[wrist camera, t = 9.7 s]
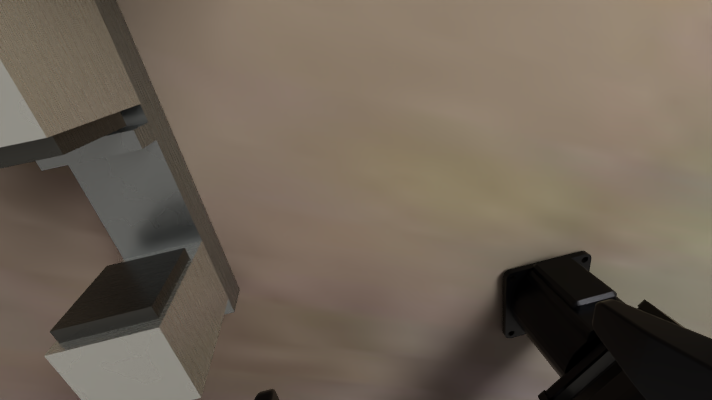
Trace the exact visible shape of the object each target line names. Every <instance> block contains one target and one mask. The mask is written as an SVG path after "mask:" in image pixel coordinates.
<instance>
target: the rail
mask: <svg viewBox="0 0 712 400" xmlns="http://www.w3.org/2000/svg"><path fill="white" fill-rule="evenodd" d="M94 1H95V3H96V5H97V7H98V10H99V12H100V14H101V16H102V18H103V21H104V23H105V25H106V27H107V30H108V32H109V34H110V36H111V38H112V41H113V43H114V45H115V47H116V50H117V52H118V54H119V56H120V58H121V61H122V63H123V65H124V67H125V70H126V72H127V74H128V76H129V78H130V81H131V83H132V85H133V87H134V90H135V92H136V94H137V96H138V98H139V101H140V103H141V104H139V105H136V106H133V107H131V108H128V109H125V110H122V111H120V113H121V115H122V117H123V119H124V121H125V123H126V125H127V126H125V127H123V128H121V129H119V130H117V131H114V132H112V133H110V134H108V135H106V136H104V137H101V138H99V139H97V140H95V141H93V142H91V143H88V144H86V145H84V146H82V147H80V148H78V149H75V150H73V151H71V152H69V153H67V154H64V155H61V156H56V157H52V158H47V159H42V160H37V161H36V163H37V164H38V166H39V167H40V169H41V171H43V170H47V169H52V168H57V167H61V166H66V165H68V166H69V167H70V169H71V171H72V172H73V174H74V176H75V178H76V179H77V181H78V183H79V184H80V186H81V188H82V189H83V191H84V193H85V194H86V196H87V198H88V200H89V201H90V203H91V205H92V206H93V208H94V210H95V211H96V213H97V215H98V216H99V218H100V220H101V222H102V223H103V225H104V227H105V228H106V230H107V232H108V233H109V235H110V237H111V238H112V240H113V242H114V244H115V245H116V247H117V249H118V250H119V252H120V254H121V255H122V257H123V261H122V262H121V263H118V264H113V265H109V266H107V267H106V268H105V269H104V270H103V271H102V272H101V273H100V275H99V276H98V277H97V278H96V279H95V280H94V281H93V283H92V284H91V285H90V286H89V287H88V288H87V289H86V291H85V292H84V293H83V294H82V295H81V296H80V297H79V299H78V300H77V301H76V302H75V303H74V304H73V306H72V307H71V308H70V309H69V310H68V311H67V312H66V314H65V315H64V316H63V317H62V318H61V319H60V320H59V322H58V323H57V324H56V325H55V326H54V327H53V328H52V330H51V331H50V333H51V334H52V335H53V336H54V338H55V339H56V340H57V341H56V342H55V344H54V345H53V346H52V347H51V348H50V350H49V351H48V352H47V353H46V354H45V358H46V359H47V360H48V361H49V362H50V364H51V365H52V366H53V367H54V368H55V369H56V371H57V372H58V373H59V374H60V375H61V376H62V378H63V379H64V380H65V381H66V382H67V384H68V385H69V386H70V387H71V388H72V389H73V391H74V392H75V393H76V394H77V395H78V397H79V398H80V399H81V400H194V399H198V398H201V396H202V393H203V389H204V386H205V382H206V378H207V375H208V371H209V367H210V364H211V360H212V357H213V353H214V349H215V346H216V342H217V338H218V335H219V331H220V328H221V324H222V320H223V317H224V314H228V313H232V312H234V311H235V307H236V303H237V298H238V294H239V287H238V285H237V282H236V280H235V278H234V275H233V273H232V271H231V268H230V266H229V264H228V261H227V259H226V257H225V254H224V252H223V250H222V247H221V245H220V243H219V240H218V238H217V236H216V233H215V231H214V229H213V226H212V224H211V222H210V219H209V217H208V215H207V212H206V210H205V208H204V205H203V203H202V201H201V198H200V196H199V194H198V191H197V189H196V187H195V184H194V182H193V179H192V177H191V175H190V172H189V170H188V168H187V165H186V163H185V161H184V158H183V156H182V154H181V151H180V149H179V147H178V144H177V142H176V140H175V137H174V135H173V133H172V130H171V128H170V126H169V123H168V121H167V119H166V116H165V114H164V112H163V109H162V107H161V105H160V102H159V100H158V98H157V95H156V93H155V91H154V88H153V86H152V83H151V81H150V79H149V76H148V74H147V72H146V69H145V67H144V65H143V62H142V60H141V58H140V55H139V53H138V51H137V48H136V46H135V44H134V41H133V39H132V37H131V34H130V32H129V30H128V27H127V25H126V23H125V20H124V18H123V16H122V13H121V11H120V9H119V6H118V4H117V2H116V0H94Z"/></svg>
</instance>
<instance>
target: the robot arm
mask: <svg viewBox="0 0 712 400" xmlns="http://www.w3.org/2000/svg"><path fill="white" fill-rule="evenodd" d="M590 263H591V255H590V254H588V253H587V252H585V251H580V252H576V253H572V254H568V255H564V256H561V257H557V258H553V259H549V260H545V261H541V262H537V263H533V264H529V265H525V266H521V267H518V268H514V269H510V270H507V271H506V272H505V273H504V276H503V334H504V335H505V336H506V337H507V338H513V337H517V336H520V335H524V334H526V335H527V336H528V337H529V338H530V340H531V341H532V342H533V343H534V345H535V346H536V347H537V348H538V350H539V351H540V352H541V354H542V355H543V356H544V357H545V359H546V360H547V361H548V362H549V364H550V365H551V366H552V367H553V369H554V370H555V371H556V372H557V374H558V375H559V376H560V377H561V378H560V379H559V380H558V381H556V382H555V383H554V384H553V385H552V386H551V387H550V388H549V389H548V390H546V391H545V390H544V391H543V392H542V393H540V394H539V395H538V398H539V400H712V339H711V338H708V337H706V336H703V335H701V334H699V333H696V332H694V331H691V330H689V329H686V328H684V327H683V326H682V325H680V324H679V323H677V322H676V321H675V320H673V319H672V318H670V317H669V316H667V315H666V314H665V313H663V312H662V311H660V310H659V309H657V308H656V307H655V306H653V305H652V304H650V303H649V302H648V301H646V300H645V299H644V300H643V301H642V302H641V303H640V304H639V305H638V307H639V308H634V307H632V306H629V305H627V304H625V303H624V302H623V301H621V300H620V299H619V298H618V297H616V296H617V293H616V292H615V291H614V290H612V289H611V288H610V287H608V286H607V285H606V284H605V283H603V282H602V281H601V280H599V279H598V278H597V277H595V276H594V275H593V274H592V273H590V272H589V270H590ZM511 276H512V277H511ZM254 400H279V398H278V396H277V393H276V391H275V390H274V389H270V390H266V391H262V392H260V393H258V394H257V396H256V397H255V399H254Z"/></svg>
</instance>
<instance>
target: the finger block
mask: <svg viewBox="0 0 712 400" xmlns="http://www.w3.org/2000/svg"><path fill="white" fill-rule="evenodd" d="M139 104H141V103H140V101H139V98H138V96H137V94H136V92H135V90H134V87H133V85H132V83H131V81H130V78H129V76H128V74H127V72H126V70H125V67H124V65H123V63H122V61H121V58H120V56H119V54H118V52H117V50H116V47H115V45H114V43H113V41H112V38H111V36H110V34H109V32H108V30H107V27H106V25H105V23H104V21H103V18H102V16H101V14H100V12H99V10H98V7H97V5H96V3H95V1H94V0H0V168H4V167H9V166H14V165H18V164H23V163H28V162H33V161H37V160H42V159H47V158H52V157H56V156H61V155H64V154H67V153H69V152H71V151H73V150H75V149H78V148H80V147H82V146H84V145H86V144H88V143H91V142H93V141H95V140H97V139H99V138H101V137H104V136H106V135H108V134H110V133H112V132H114V131H117V130H119V129H121V128H123V127H125V126H127V125H126V123H125V121H124V119H123V117H122V115H121V113H120V111H122V110H125V109H128V108H131V107H133V106H136V105H139Z"/></svg>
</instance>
